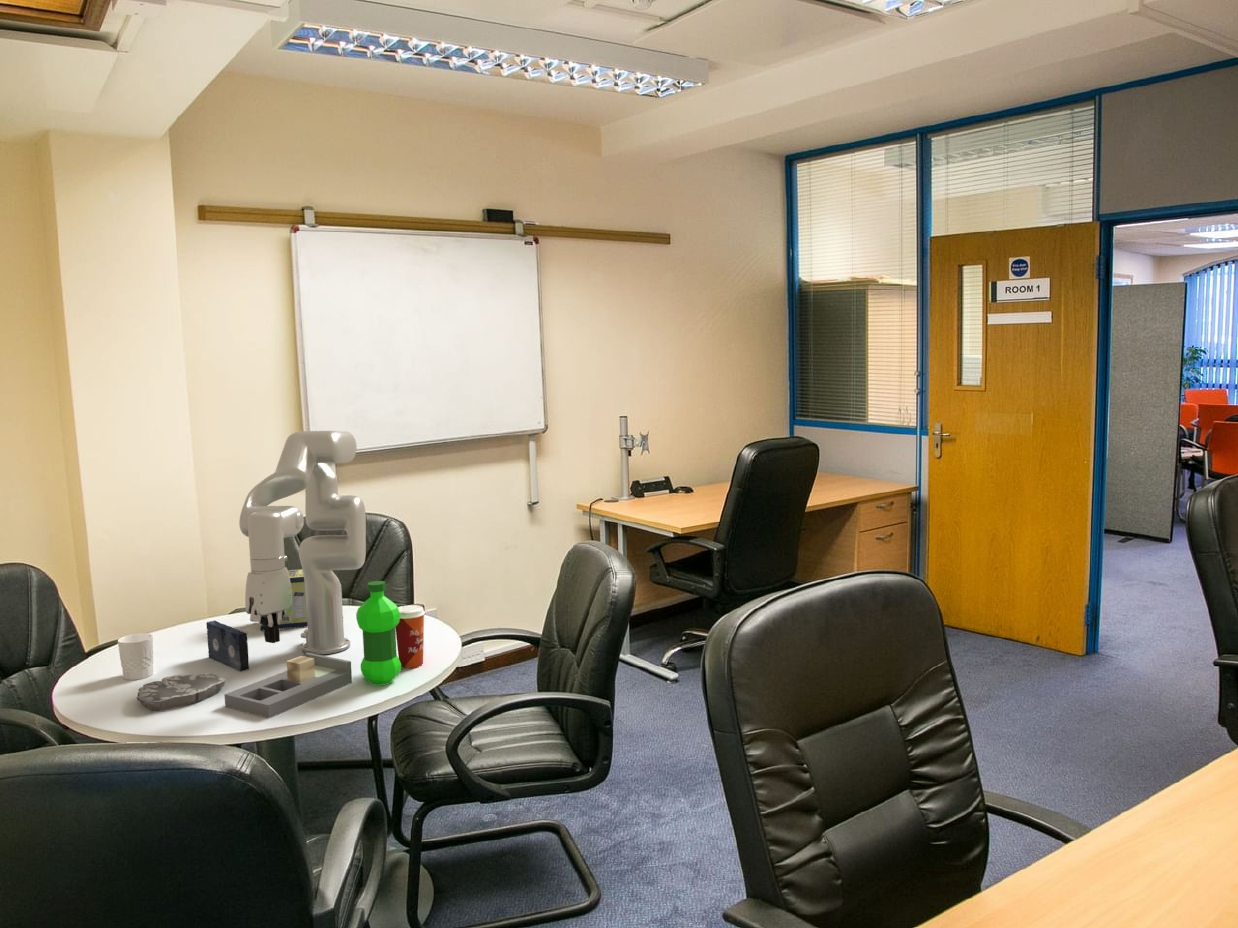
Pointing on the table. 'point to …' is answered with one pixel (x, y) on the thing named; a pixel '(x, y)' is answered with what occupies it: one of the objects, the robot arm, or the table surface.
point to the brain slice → (179, 690)
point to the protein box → (295, 603)
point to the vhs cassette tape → (227, 645)
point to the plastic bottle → (379, 636)
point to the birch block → (300, 668)
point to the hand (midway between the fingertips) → (272, 641)
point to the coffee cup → (410, 636)
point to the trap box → (290, 688)
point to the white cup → (136, 656)
